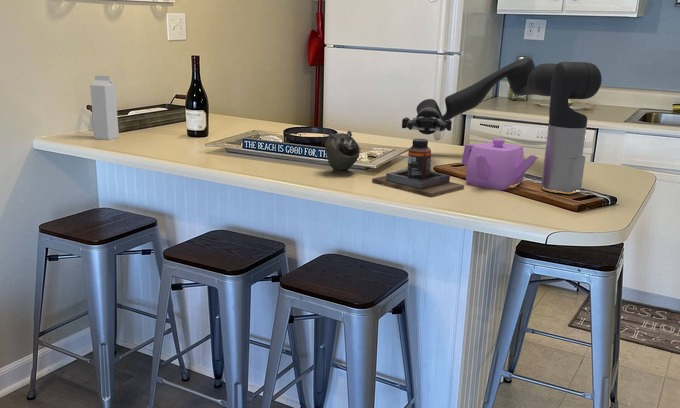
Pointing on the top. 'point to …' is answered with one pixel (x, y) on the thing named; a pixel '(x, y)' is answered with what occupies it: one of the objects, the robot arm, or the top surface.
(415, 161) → the supplement bottle
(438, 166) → the top surface
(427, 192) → the dock board
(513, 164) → the teakettle
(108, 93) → the milk
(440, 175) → the socket collar
